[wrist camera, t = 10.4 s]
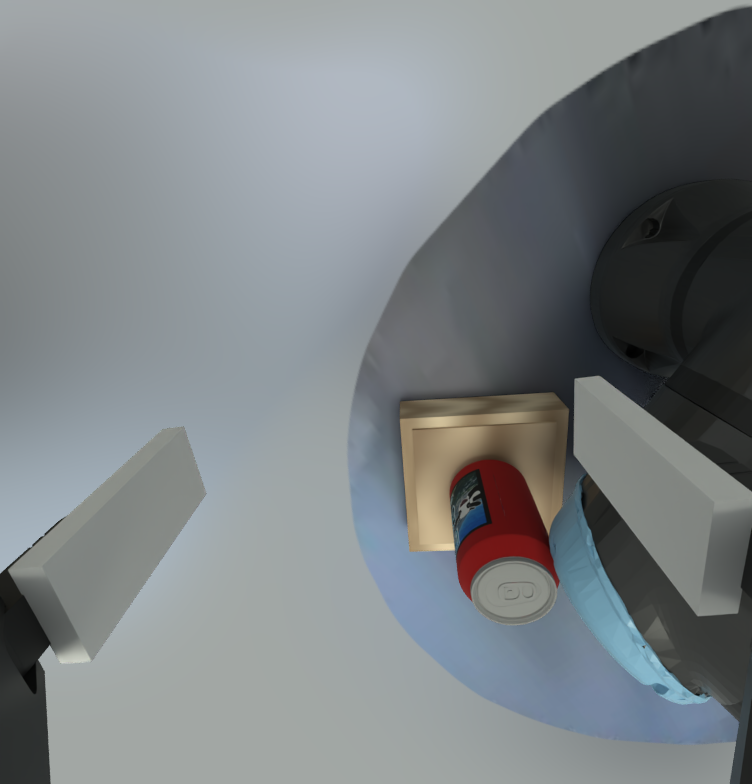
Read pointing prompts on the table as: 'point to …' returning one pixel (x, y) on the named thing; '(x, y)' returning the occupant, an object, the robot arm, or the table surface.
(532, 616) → the beverage can
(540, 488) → the square tray
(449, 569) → the table surface
